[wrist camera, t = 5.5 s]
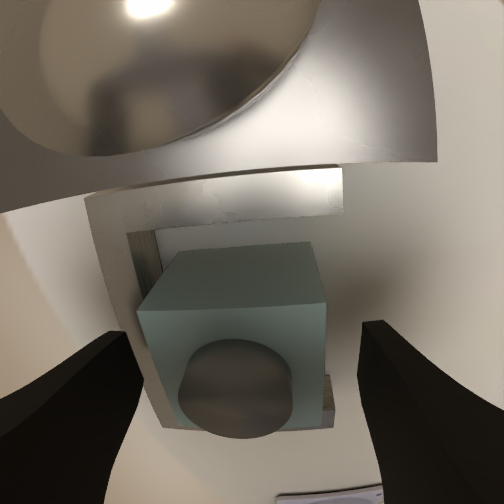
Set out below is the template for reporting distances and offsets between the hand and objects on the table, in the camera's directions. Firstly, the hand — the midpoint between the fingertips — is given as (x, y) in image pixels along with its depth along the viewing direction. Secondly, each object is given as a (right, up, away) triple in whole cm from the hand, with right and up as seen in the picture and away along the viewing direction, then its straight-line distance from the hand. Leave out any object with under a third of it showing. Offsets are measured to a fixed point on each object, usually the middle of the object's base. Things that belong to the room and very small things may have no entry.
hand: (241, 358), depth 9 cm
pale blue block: (0, +1, +3) cm, 3 cm away
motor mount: (0, +4, +2) cm, 4 cm away
